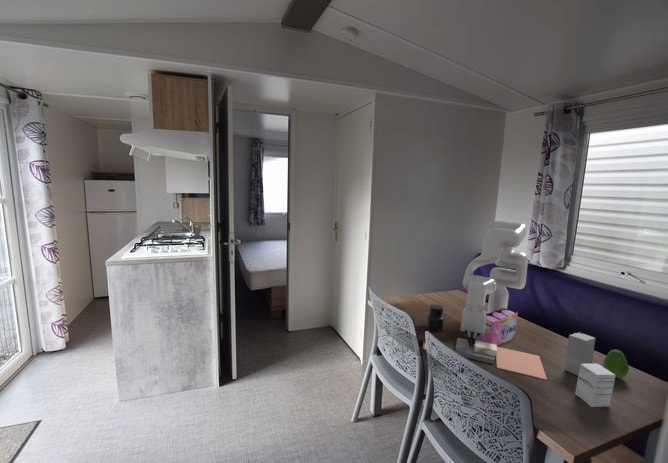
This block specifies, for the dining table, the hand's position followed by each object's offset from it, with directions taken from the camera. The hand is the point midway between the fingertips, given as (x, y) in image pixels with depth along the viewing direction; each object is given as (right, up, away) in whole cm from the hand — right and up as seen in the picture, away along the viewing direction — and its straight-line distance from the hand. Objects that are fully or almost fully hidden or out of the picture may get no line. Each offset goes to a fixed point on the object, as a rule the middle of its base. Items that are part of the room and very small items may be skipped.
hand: (470, 344), depth 151 cm
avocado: (+52, -8, -16) cm, 55 cm away
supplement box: (+31, -10, -32) cm, 45 cm away
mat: (+18, -5, -7) cm, 20 cm away
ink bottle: (-10, +1, +23) cm, 25 cm away
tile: (+5, -2, -2) cm, 6 cm away
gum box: (+18, -2, +13) cm, 22 cm away
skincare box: (+40, -7, -13) cm, 42 cm away
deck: (+2, -3, 0) cm, 4 cm away
